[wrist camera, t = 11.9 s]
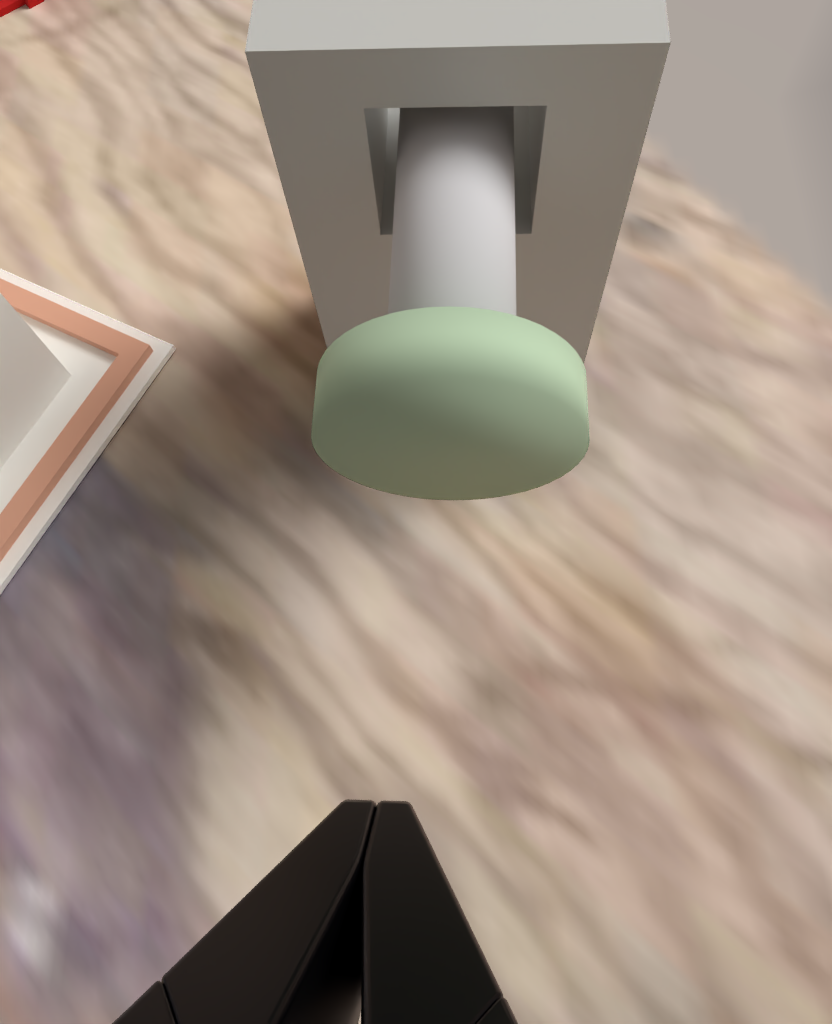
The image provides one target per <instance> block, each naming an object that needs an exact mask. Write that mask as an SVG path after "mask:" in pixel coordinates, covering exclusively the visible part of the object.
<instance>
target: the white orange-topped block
mask: <svg viewBox="0 0 832 1024" xmlns="http://www.w3.org/2000/svg"><path fill="white" fill-rule="evenodd" d="M71 376H72V375H71V374H70V373H69V372H68V371H67V370H66V368H65V367H64V366H63V365H62V364H61V363H60V362H59V360H58V359H57V358H56V357H55V356H54V355H53V353H52V352H51V351H50V350H49V349H48V348H47V346H46V345H45V344H44V343H43V342H42V341H41V339H40V338H39V337H38V336H37V335H36V334H35V332H34V331H33V330H32V329H31V328H30V327H29V326H28V324H27V323H26V322H25V321H24V320H23V319H22V317H21V316H20V315H19V314H18V313H17V312H16V310H15V309H14V308H13V307H12V306H11V305H10V303H9V302H8V301H7V300H6V299H5V298H4V296H3V295H2V294H1V293H0V469H1V468H2V467H3V465H4V464H5V463H6V461H7V460H8V459H9V457H10V456H11V455H12V453H13V452H14V451H15V450H16V448H17V447H18V446H19V444H20V443H21V442H22V440H23V439H24V438H25V436H26V435H27V434H28V432H29V431H30V430H31V429H32V427H33V426H34V425H35V423H36V422H37V421H38V419H39V418H40V417H41V415H42V414H43V413H44V411H45V410H46V409H47V407H48V406H49V405H50V404H51V402H52V401H53V400H54V398H55V397H56V396H57V394H58V393H59V392H60V390H61V389H62V388H63V386H64V385H65V384H66V383H67V381H68V380H69V379H70V377H71Z"/></svg>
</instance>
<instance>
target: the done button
mask: <svg viewBox="0 0 832 1024" xmlns="http://www.w3.org/2000/svg"><path fill="white" fill-rule="evenodd" d="M311 440H312V444H313V447H314V449H315V451H316V453H317V454H318V456H319V457H320V458H321V459H322V460H323V462H325V463H326V464H327V465H328V466H329V467H330V468H332V469H333V470H335V471H336V472H338V473H339V474H341V475H342V476H344V477H346V478H348V479H350V480H352V481H355V482H357V483H359V484H362V485H364V486H367V487H370V488H373V489H376V490H380V491H384V492H388V493H392V494H397V495H402V496H408V497H415V498H423V499H435V500H473V499H485V498H494V497H501V496H506V495H512V494H516V493H520V492H525V491H528V490H531V489H534V488H538V487H540V486H543V485H545V484H548V483H550V482H552V481H554V480H556V479H558V478H560V477H562V476H563V475H565V474H566V473H568V472H569V471H571V470H572V469H573V468H574V467H575V466H576V465H578V464H579V462H580V461H581V460H582V459H583V457H584V456H585V454H586V452H587V450H588V446H589V422H588V402H587V382H586V370H585V367H584V364H583V362H582V359H581V358H580V356H579V355H578V353H577V352H576V350H575V349H574V348H573V347H572V346H571V345H570V344H569V343H568V342H567V341H566V340H564V339H563V338H562V337H560V336H559V335H558V334H556V333H555V332H553V331H551V330H549V329H547V328H546V327H544V326H542V325H540V324H537V323H535V322H532V321H530V320H528V319H525V318H521V317H518V316H516V247H515V171H514V106H484V107H423V108H400V116H399V133H398V150H397V167H396V185H395V202H394V219H393V236H392V253H391V270H390V287H389V305H388V314H387V315H384V316H381V317H377V318H374V319H371V320H369V321H367V322H364V323H362V324H360V325H357V326H356V327H354V328H352V329H351V330H349V331H347V332H345V333H344V334H343V335H341V336H340V337H339V338H337V339H336V340H335V341H334V342H333V343H332V344H331V345H330V346H329V347H328V348H327V349H326V351H325V352H324V354H323V356H322V357H321V359H320V362H319V365H318V368H317V377H316V388H315V399H314V409H313V420H312V431H311Z"/></svg>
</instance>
